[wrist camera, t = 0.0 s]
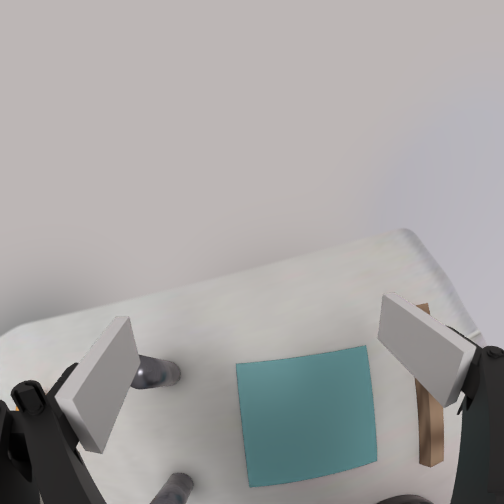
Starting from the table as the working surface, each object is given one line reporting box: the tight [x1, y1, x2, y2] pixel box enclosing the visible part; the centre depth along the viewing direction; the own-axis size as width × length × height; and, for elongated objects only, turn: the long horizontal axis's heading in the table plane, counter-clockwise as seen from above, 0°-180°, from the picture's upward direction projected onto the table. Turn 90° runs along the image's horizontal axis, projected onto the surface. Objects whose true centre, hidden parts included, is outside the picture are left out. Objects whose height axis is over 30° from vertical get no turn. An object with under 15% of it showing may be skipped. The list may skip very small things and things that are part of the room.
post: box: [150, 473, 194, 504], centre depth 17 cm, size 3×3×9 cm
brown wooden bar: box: [415, 303, 444, 467], centre depth 24 cm, size 20×2×2 cm, turn 6°
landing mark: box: [236, 345, 377, 487], centre depth 24 cm, size 14×14×1 cm
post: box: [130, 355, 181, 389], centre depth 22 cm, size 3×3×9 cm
